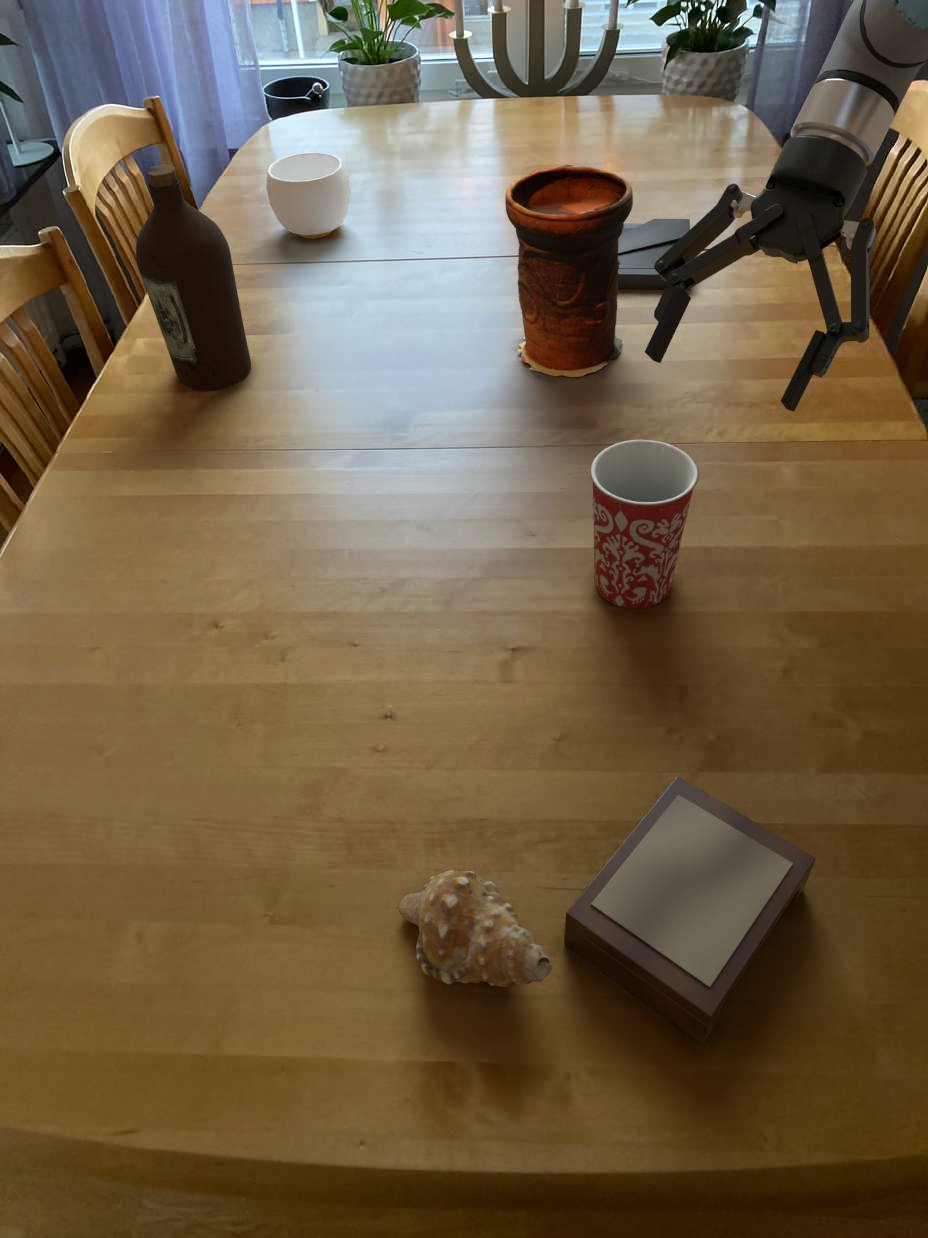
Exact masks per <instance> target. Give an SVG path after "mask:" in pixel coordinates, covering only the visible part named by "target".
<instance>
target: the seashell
mask: <svg viewBox="0 0 928 1238" xmlns="http://www.w3.org/2000/svg"><path fill="white" fill-rule="evenodd" d="M398 912H399V914H400V916H401V917H402V918H403V920H405V921H406V922H409V923H411V924H413V925H414V926H416V927H418V931H419V934H418V937H417V940H416V949H415V956H416V962H417V964H419V966H420V968H421V969H422V972H423V973H424V974H425V975H426V976H429V977H431V978H433V979H435V980H436V981H437V980H438V981H440V982H442V983H445V984H447V985H451V984H453V983H454V982H456V983H457V982H459V983H460V982H461V983H462V984H466V985H467V984H468V983H469V984H470V983H472V984H478V983H481V982H486V983H487V984H489V985H490V986H491V987H492V986H493V987H494V986H497V987H502V988H507V987H510V986H511V985H513V984H516V985H528V984H531V983H539V982H543V981H544V980H545V979H547V977H549V975H550V974H551V972H552V969H553V962H552V960H551V959H550V957H549V956H547V954H546V952H545V949H544V948H543V947H542V945H540V944H537V943H536V941H535V938H534V935H533V933H532V932H531V931H529V930H528V929H526V928H524V927H522V924H521V921H520V920H519V918H518V915H517V913H516V911H515V909H514V908H513V906H512V905H511V904H510V903H508V902H506V901H503V900H501V896H500V894H499V890H498V889H497V886H496V884H495V883H494V882H493V881H489V880H487V879H485V878H483V877H480V876H477V875H476V873H475V871H472V870H466V871H465V870H464V871H457V870H453V869H451V870H448V871H444V872H442V873H439V874H438V875H433V876H430V877H429V878H428V880H427V882H426V883H425V884H424V885H423V887H422V890H420V891H419V892H412V893H411V892H410V893H407V894H406V895H405V896H404V897H403V898H402V900H401V901H400V904H399V907H398Z"/></svg>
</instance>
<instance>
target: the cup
mask: <svg viewBox="0 0 928 1238" xmlns="http://www.w3.org/2000/svg"><path fill="white" fill-rule="evenodd" d="M265 184H266V185H265V186H266V187H265V189H266V193H267V198H268V203H269V206H270V207H271V209H272V211H273V214H274V215H275V217H276V219H277V221H278V222H279V224H280V225H281V226H282V227H283V228H285V230H286V231H288V232H290V233H292V234H294V235H298V236H299V237H302V238H304V239H312V240H313V239H320V238H325V237H327V236H328V235H330V234H331V233H333V232H334V230H335V229H338V228H339V227H340V226H341V225H342V224H344V221H345V219H346V218H347V216H348V211H349V207H350V200H351V195H352V193H351V187H350V185H351V184H350V179H349V174H348V172H347V169H346V167H345V164H344V162H343V161H342V160H341V159H340V157H339V156H336V155H334V154H331V153H326V152H319V151H315V152H314V151H313V152H301V153H294V154H290V155H286V156H284V157H282V158H279V159H276V160H275V161H274V162H273V163H271V164H270V165H269V167H268V169H267V171H266V183H265Z"/></svg>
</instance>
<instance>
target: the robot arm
mask: <svg viewBox="0 0 928 1238" xmlns="http://www.w3.org/2000/svg"><path fill="white" fill-rule="evenodd" d="M927 62H928V0H850V2H849V5H848V10H847V13H846V15H845V16H844V19H843V21H842V23H841V25H840V28H839V30H838V32H837V35H836V36H835V39H834V41H833V42H832V45H831V48H830V50H829V51H828V54H827V56H826V58H825V61H824V63H823V64H822V67H821V69H820V71H819V73H818V75H817V78H816V79H815V80H814V83H813V84H812V86H811V87H812V88H811V89H810V91H809V93H808V95H807V97H806V99H805V100H804V103H803V105H802V107H801V109H800V111H799V112H798V115H797V117H796V119H795V121H794V123H793V125H792V127H791V129H790V136H791V137H790V138H788V139H787V140H786V141H785V142H784V145H783V146H782V149H781V151H780V153H779V155H778V157H777V159H776V160H775V163H774V165H773V168H772V169H771V172H770V174H769V176H768V179H767V181H766V183H765V186H764V188H763V189H762V190H761V192H759V194H757V195H756V196H755V195H752V194H750V193H748V192H745V191H743V190H741V189H740V186H739V184H737V183H734V182H733V183H730V184H728V186H727V187H726V188H725V190H724V191H723V193H722V195H721V196H720V198H719V199H718V201H717V203H716V205H714V206H713V208H711V209H710V210H709V211H707V213H706V214H705V215H704V216H703V217H702V218H701V219H700V220H698V221H697V222H696V223H695V224H694V225H693V226H691V227H690V230H689V231H688V232H687V233H686V234H685V235H684V236H683V237H682V238H681V239H680V240H678V241H677V242H676V243H675V244H674V245H673V246H672V247H671V248H670V249H669V250H668V251H667V252H666V253H665V254H664V255H662V256H661V257H660V258H659V259H658V260H657V261H656V262H655V265H654V268H655V270H656V271H657V272H658V274H659V275H660V276H661V278H662V279H663V280H664V281H666V287H665V289H663V292H662V294H661V295H660V298H659V301H658V302H657V305H656V306H655V309H654V311H653V318H654V319H655V320H656V321H657V324H656V327H655V329H654V331H653V332H652V335H651V338H650V339H649V341H648V343H647V345H646V348H645V350H644V353H645V354H646V355H647V356H648V358H649V359H651V361H653V362H655V363H657V364H661V363H662V360H663V359H664V357H665V355H666V352H667V350H668V348H669V346H670V344H671V342H672V340H673V337H674V335H675V333H676V331H677V329H678V327H679V326H680V323H681V321H682V318H683V317H684V314H685V312H686V310H687V308H688V306H689V304H690V302H691V300H692V297H691V296H690V295H689V293H688V292H687V291H690V290H691V289H692V288H694V287H695V286H697V285H699V284H701V283H702V282H704V281H706V280H707V279H709V278H710V277H712V276H714V275H715V274H717V273H719V272H720V271H723V270H724V269H725V268H727V267H729V266H731V265H732V264H734V263H736V262H737V261H740V259H743V258H744V257H747V256H748V257H750V256H752V255H754V254H756V253H757V252H758V251H762V253H764V256H768V257H771V258H783V259H784V260H786V261H787V262H789V263H792V264H795V265H798V263H801V262H805V261H807V263H808V266H809V269H810V273H811V276H812V280H813V284H814V288H815V292H816V294H817V298H818V302H819V306H820V309H821V313H822V316H823V320H824V324H825V328H826V332H824V331H821V330H818V329H815V330H814V333H813V335H812V336H811V338H810V341H809V342H808V345H807V347H806V349H805V350H804V353H803V355H802V356H801V359H800V361H799V363H798V365H797V367H796V369H795V371H794V373H793V375H792V377H791V379H790V381H789V383H788V385H787V387H786V389H785V391H784V393H783V394H782V397H781V399H780V403H781V404H782V405H783V408H785V409H786V410H787V411H789V412H792V413H795V411H796V409H797V407H798V406H799V403H800V401H801V399H802V397H803V395H804V393H805V391H806V389H807V387H808V385H809V384H810V381H811V380H812V378H813V376H815V377H819V378H823V377H824V376H825V375H826V374H827V372H828V370H829V368H830V366H831V364H832V362H833V361H834V358H835V356H836V355H837V352H838V350H839V349H840V347H841V346H842V345H843V344H844V343H847V342H857V343H860V344H862V343H865V342H867V341H868V340H869V338H870V334H871V333H870V329H871V328H870V327H871V326H870V325H871V324H870V256H871V253H872V251H873V248H874V245H875V242H876V240H877V236H878V234H877V229H876V225H875V222H874V220H873V218H871V217H864V218H862V219H861V220H860V221H854V220H847V219H846V218H847V214H848V213H849V211H850V209H851V207H852V205H853V203H854V201H855V199H856V197H857V195H858V193H859V191H860V189H861V186H862V184H863V182H864V180H866V179H865V178H866V177H867V174H868V169H867V167H868V166H870V165H872V164H873V161H874V160H875V158H876V156H877V153H878V152H879V150H880V147H881V145H882V143H883V141H884V140H885V137H886V135H887V133H888V132H889V130H890V129H891V126H892V123H893V122H894V119H895V118H896V115H897V113H898V110H899V108H900V106H901V104H902V102H903V100H904V98H905V96H906V94H907V93H908V91H909V89H910V87H911V85H912V83H913V81H914V80H915V78H916V75H917V74H918V72H919V71H920V70H921V68H922V66H924V65H925V64H927ZM747 212H750V215H751V220H749V221H747V222H746V223H744V224H743V225H741V226H740V227H738V228H736V230H735V231H734V233H732V234H731V235H730V236H728V237H727V238H725V239H723V240H721V241H720V242H718V243H717V244H715V245H714V246H712V247H710V248H708V247H709V246H710V245H711V244H712V243H713V242H715V240H716V239H717V238H719V236H720V235H722V234H723V233H724V232H725V231H726V230H727V229H728V228H729V227H730V226H731V225H732V224H733V223H734V221H735V219H741V218H743V216H744V215H745V214H746V213H747ZM841 237H845V243H846V246H847V248H848V249H849V250H850V321H843V320H842V319H843V318H842V315H841V313H840V309H839V305H838V302H837V299H836V294H835V291H834V288H833V284H832V280H831V276H830V274H829V269H828V266H827V261H826V258H825V255H824V251H823V250H824V249H826V248H827V247H829V246H830V245H832V244H833V243H835V242H836V241H838V240H839V239H840V238H841ZM707 248H708V249H707ZM705 249H707V250H706V251H704V250H705ZM703 251H704V252H703ZM690 288H691V289H690ZM689 289H690V290H689Z"/></svg>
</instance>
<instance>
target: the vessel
mask: <svg viewBox="0 0 928 1238" xmlns="http://www.w3.org/2000/svg"><path fill="white" fill-rule="evenodd" d="M633 193H634V192H633V187H632V185H631V184H630V183H629V181H627V180H626V179H625V178H623V177H622V176H620V175H618V174H617V173H614V172H610V171H607V170H603V169H599V168H596V167H592V166H585V165H572V164H571V165H570V164H567V165H566V164H565V165H559V166H558V165H557V166H552V167H549V168H545V169H540V170H534V171H533V172H530V173H529V174H526V175H523V176H520V177H519V178H517V179H515V180H514V181H513V182H511V184H510V185H509V186H508V187H507V189H506V193H505V197H504V200H505V201H504V202H505V203H504V204H505V212H506V215H507V218H508V221H509V222H510V223H511V225H512V226H513V227H514V229H515V234H516V238H517V241H518V260H517V276H518V278H517V290H518V302H519V307H520V311H521V317H522V325H523V332H524V336H523V337H522V339H523V340H524V341H523V342H521V343H519V344H518V345H519V347H520V348H518V349H517V352H518V353H521V355H520V358H521V360H522V361H523V363H526V364H528V365H530V367H528V369H529V370H531V371H534V372H541V373H542V374H546V375H549V376H553V377H558V376H559V377H560V376H565V377H567V378H577V377H584V376H585V375H587V374H592V373H595V372H597V371H599V370H601V369H603V368H604V366H607V365H608V364H609V361H612V360H613V359H614V358H615V359H616V358H618V357H619V353H620V352H621V350H622V349H623V348H622V347H621V346H622V342H623V340H622V339H621V338H618V337H617V336H616V326H617V312H618V294H619V289H618V270H619V262H618V240H619V237H620V236H621V233H622V230H623V228H624V223H625V222H626V220H627V219H628V218H629V216H630V214H631V212H632V211H633V210H632V209H633V206H634V205H633V204H634V195H633Z"/></svg>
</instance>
